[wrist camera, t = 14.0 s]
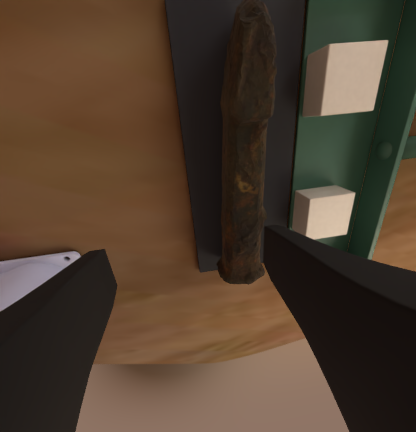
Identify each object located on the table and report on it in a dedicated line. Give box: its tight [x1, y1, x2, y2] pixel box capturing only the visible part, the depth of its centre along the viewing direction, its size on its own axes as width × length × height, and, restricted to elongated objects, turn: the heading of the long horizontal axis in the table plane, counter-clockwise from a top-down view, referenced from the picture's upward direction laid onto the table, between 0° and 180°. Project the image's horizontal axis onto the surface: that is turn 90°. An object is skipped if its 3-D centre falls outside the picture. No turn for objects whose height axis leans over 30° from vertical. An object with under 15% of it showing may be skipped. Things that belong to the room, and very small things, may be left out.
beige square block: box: [292, 185, 355, 239], centre depth 19 cm, size 4×4×2 cm
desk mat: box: [165, 0, 305, 273], centre depth 17 cm, size 9×21×1 cm, turn 5°
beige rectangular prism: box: [302, 40, 388, 117], centre depth 15 cm, size 4×4×2 cm
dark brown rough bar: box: [216, 0, 277, 284], centre depth 15 cm, size 19×4×5 cm, turn 0°
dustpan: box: [288, 0, 416, 260], centre depth 18 cm, size 16×23×3 cm
